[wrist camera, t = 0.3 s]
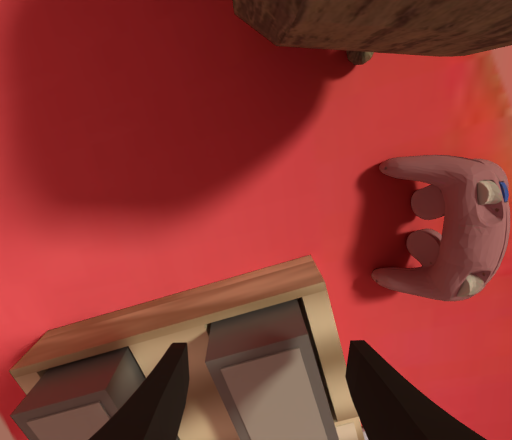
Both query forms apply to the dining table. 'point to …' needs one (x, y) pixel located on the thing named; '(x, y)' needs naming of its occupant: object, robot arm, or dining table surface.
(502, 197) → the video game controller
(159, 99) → the dining table surface
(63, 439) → the brown block
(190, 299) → the switch panel
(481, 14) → the tabletop clock
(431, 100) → the dining table surface
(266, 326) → the key grey
